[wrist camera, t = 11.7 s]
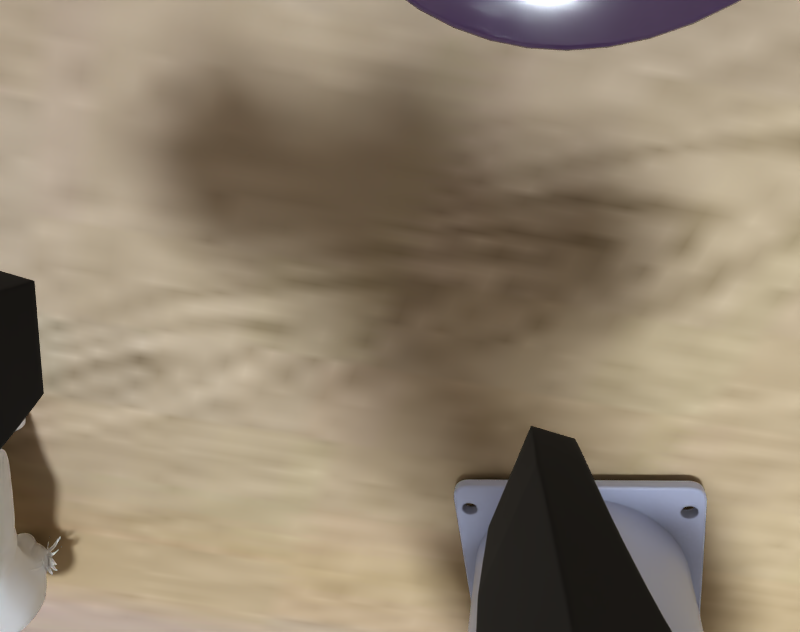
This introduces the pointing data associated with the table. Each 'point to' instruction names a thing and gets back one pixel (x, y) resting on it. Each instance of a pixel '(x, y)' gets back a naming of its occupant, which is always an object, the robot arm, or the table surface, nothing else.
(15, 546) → the penguin figurine
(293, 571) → the table surface
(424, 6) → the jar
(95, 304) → the table surface
